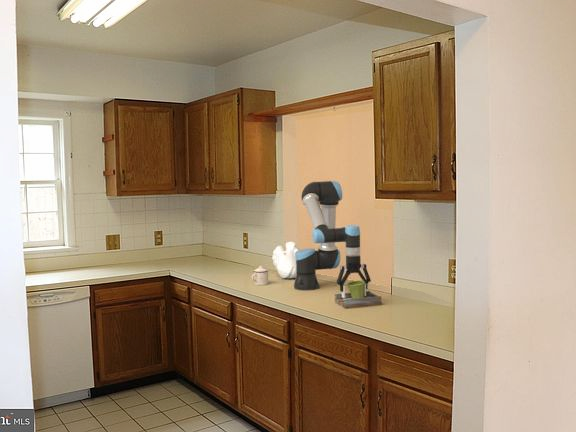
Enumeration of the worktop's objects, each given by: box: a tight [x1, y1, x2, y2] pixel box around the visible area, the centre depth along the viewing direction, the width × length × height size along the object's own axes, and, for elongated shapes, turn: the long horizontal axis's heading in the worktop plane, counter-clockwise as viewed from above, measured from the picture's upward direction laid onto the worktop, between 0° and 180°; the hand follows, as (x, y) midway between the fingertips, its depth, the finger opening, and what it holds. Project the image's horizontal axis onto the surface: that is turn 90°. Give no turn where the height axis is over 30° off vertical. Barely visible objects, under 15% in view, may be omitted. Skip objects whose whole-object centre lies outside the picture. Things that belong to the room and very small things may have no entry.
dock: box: [334, 290, 382, 310], centre depth 283 cm, size 14×20×4 cm
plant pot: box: [346, 280, 365, 299], centre depth 283 cm, size 9×9×9 cm
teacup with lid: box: [251, 265, 269, 286], centre depth 342 cm, size 12×9×12 cm
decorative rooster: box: [271, 241, 299, 279], centre depth 362 cm, size 25×16×25 cm, turn 32°
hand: (354, 296), depth 282 cm, fingers open, 11 cm apart
